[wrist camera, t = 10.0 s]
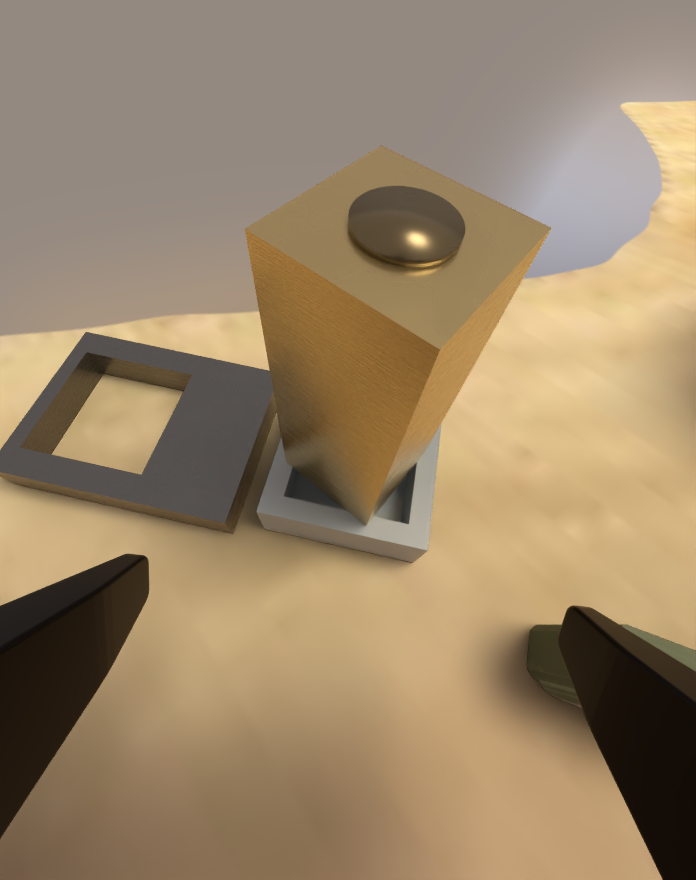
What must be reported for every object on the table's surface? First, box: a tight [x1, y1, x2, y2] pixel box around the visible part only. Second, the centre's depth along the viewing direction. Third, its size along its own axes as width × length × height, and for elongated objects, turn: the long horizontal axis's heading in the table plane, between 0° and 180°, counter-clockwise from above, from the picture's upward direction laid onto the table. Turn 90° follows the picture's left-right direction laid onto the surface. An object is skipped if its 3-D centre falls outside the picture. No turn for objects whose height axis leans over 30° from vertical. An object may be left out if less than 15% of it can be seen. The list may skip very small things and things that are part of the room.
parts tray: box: [256, 425, 441, 563], centre depth 21 cm, size 8×8×3 cm
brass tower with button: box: [245, 146, 551, 526], centre depth 14 cm, size 5×5×12 cm
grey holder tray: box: [0, 332, 277, 534], centre depth 21 cm, size 12×9×2 cm
